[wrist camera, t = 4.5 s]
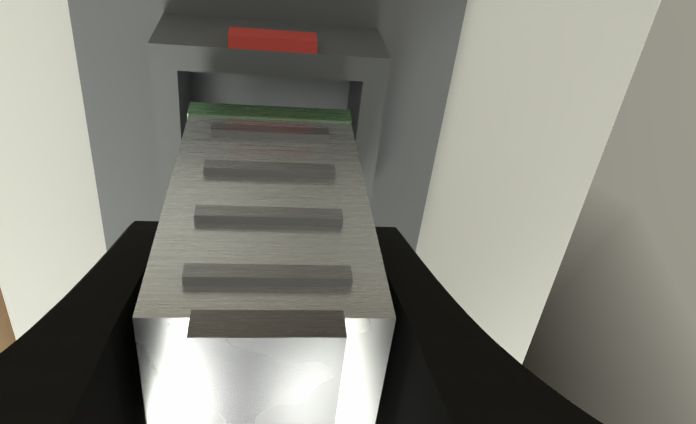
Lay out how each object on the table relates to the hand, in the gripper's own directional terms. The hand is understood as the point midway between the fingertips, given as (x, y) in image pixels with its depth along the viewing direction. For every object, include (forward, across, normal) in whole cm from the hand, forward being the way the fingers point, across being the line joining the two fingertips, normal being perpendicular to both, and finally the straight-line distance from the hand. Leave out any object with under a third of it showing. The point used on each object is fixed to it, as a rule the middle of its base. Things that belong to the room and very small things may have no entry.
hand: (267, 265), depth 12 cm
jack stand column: (+3, 0, 0) cm, 3 cm away
